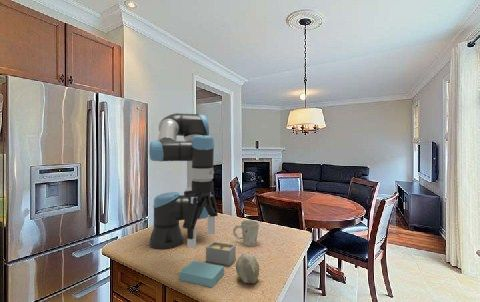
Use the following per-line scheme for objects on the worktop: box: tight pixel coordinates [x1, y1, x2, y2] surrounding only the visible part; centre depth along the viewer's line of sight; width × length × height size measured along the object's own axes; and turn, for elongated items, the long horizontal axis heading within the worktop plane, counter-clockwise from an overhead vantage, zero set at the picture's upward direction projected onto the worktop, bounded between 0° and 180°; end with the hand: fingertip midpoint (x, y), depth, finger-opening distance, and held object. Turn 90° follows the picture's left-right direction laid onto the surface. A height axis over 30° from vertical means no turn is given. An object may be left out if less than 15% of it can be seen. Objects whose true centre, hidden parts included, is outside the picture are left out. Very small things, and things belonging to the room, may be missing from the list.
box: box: [205, 241, 237, 268], centre depth 98 cm, size 10×6×6 cm, turn 69°
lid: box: [178, 260, 225, 288], centre depth 85 cm, size 13×9×3 cm
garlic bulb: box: [235, 253, 260, 284], centre depth 83 cm, size 9×8×10 cm
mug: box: [232, 219, 260, 247], centre depth 116 cm, size 8×13×10 cm, turn 78°
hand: (202, 240), depth 86 cm, fingers open, 13 cm apart
